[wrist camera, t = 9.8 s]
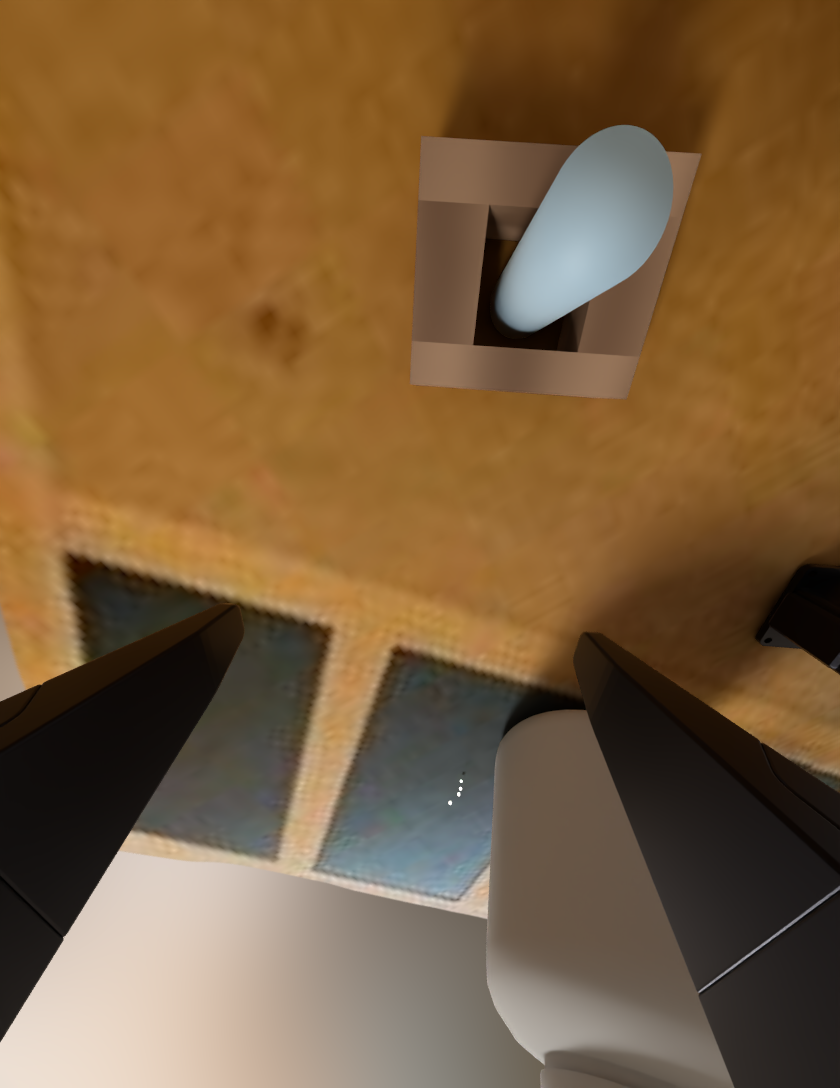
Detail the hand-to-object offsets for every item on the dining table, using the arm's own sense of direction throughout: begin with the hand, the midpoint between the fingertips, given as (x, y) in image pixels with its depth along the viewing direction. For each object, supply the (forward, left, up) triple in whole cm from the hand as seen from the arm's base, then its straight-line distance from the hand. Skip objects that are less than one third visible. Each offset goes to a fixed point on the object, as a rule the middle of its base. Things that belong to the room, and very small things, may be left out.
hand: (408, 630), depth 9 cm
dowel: (-4, -10, -13) cm, 17 cm away
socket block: (-4, -10, -13) cm, 17 cm away
